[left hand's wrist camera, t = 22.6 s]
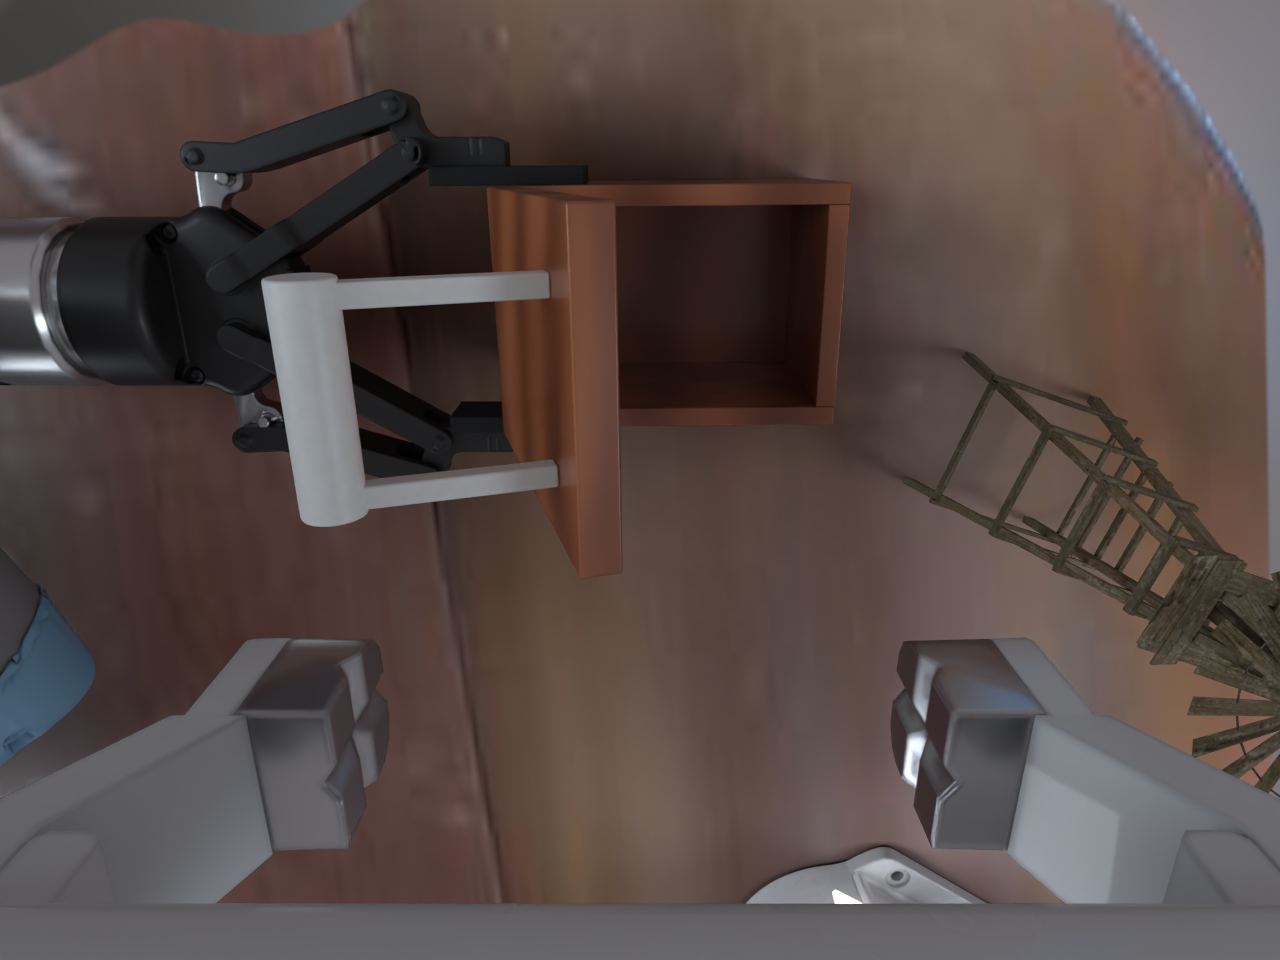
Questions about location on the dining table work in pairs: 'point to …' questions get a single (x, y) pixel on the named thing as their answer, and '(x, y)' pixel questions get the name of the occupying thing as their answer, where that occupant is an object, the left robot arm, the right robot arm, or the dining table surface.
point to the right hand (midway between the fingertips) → (589, 301)
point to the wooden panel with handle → (528, 363)
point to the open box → (727, 298)
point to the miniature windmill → (1155, 575)
